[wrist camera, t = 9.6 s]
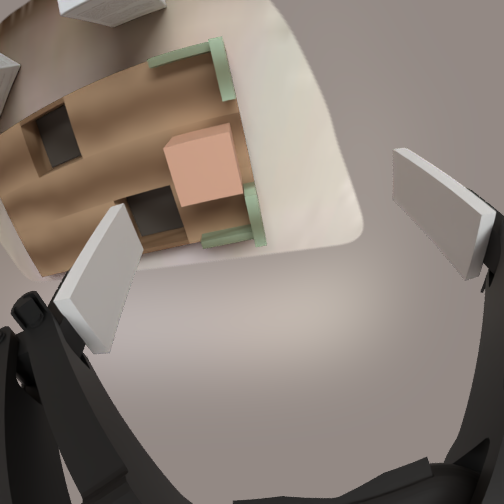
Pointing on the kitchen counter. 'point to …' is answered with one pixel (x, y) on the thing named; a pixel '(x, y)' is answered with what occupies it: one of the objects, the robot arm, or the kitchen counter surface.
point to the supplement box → (6, 77)
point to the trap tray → (125, 160)
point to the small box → (108, 10)
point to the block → (204, 165)
